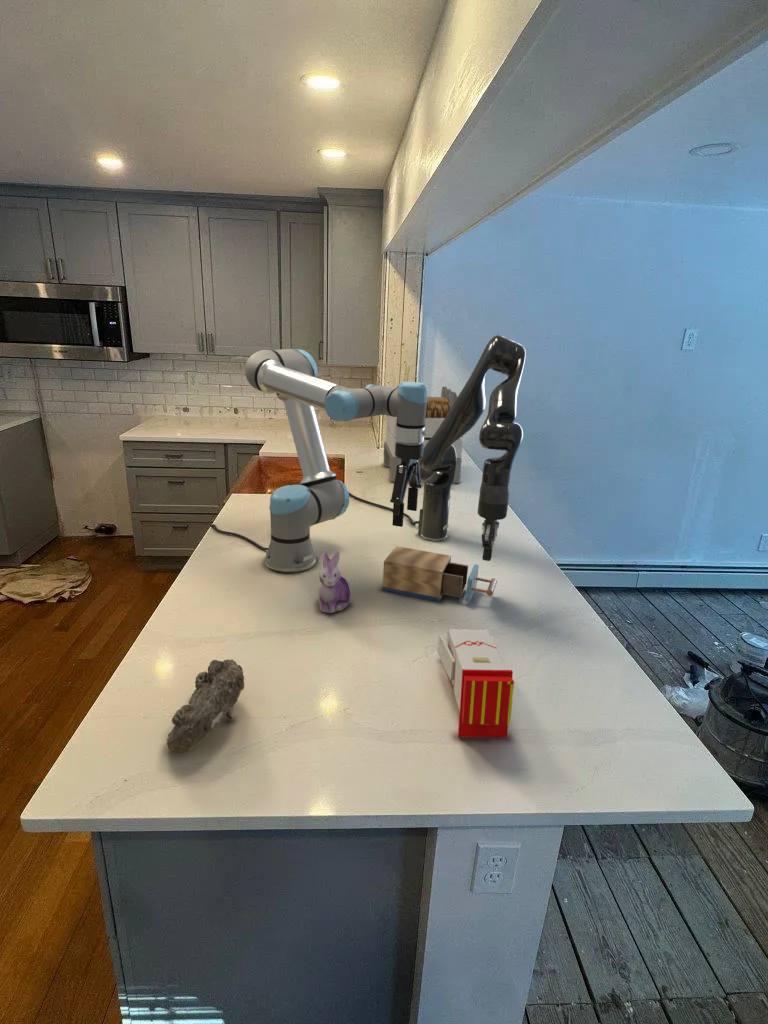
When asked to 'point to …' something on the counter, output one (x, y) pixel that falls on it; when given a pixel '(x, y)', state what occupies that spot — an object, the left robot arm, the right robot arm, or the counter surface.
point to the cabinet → (415, 572)
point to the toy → (478, 682)
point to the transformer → (433, 420)
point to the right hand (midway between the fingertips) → (486, 559)
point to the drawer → (463, 581)
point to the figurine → (332, 586)
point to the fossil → (206, 705)
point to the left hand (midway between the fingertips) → (405, 517)
